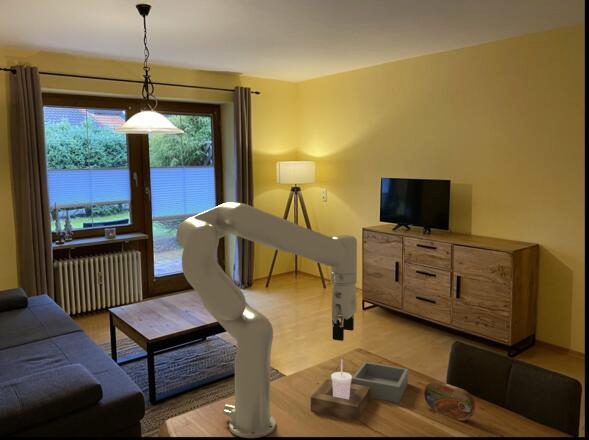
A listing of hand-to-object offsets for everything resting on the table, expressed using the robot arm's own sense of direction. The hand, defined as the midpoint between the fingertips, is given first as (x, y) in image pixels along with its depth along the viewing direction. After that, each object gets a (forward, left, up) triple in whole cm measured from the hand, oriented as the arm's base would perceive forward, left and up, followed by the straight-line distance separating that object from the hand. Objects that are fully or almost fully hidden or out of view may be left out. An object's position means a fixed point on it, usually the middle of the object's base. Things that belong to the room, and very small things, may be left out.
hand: (343, 334), depth 140 cm
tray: (+8, +16, -21) cm, 28 cm away
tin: (+30, +8, -22) cm, 38 cm away
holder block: (0, 0, -21) cm, 21 cm away
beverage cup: (0, 0, -22) cm, 22 cm away
